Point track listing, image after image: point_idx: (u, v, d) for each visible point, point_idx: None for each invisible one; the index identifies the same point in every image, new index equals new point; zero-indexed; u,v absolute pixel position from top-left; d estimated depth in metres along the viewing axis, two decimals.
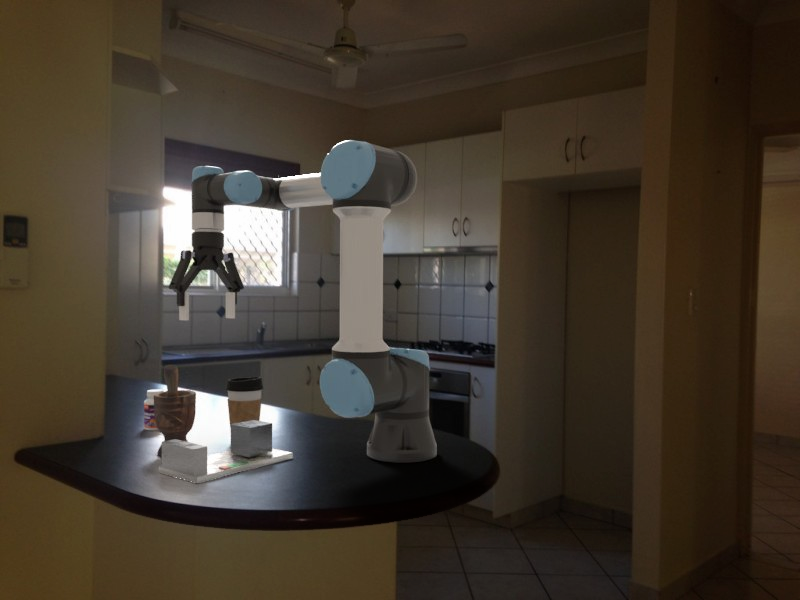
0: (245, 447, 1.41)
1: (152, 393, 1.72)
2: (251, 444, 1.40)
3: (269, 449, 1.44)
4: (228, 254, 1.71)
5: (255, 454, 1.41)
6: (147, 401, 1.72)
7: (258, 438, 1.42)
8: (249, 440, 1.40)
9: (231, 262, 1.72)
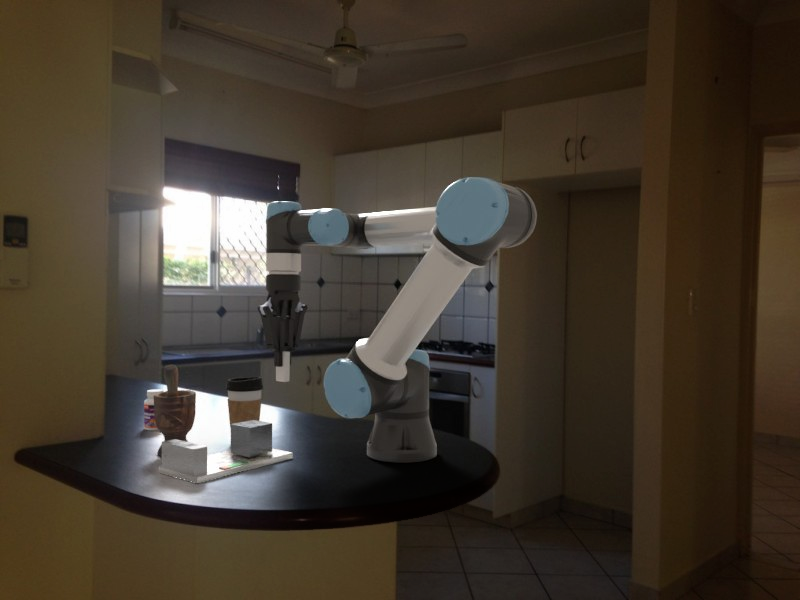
0: (245, 447, 1.41)
1: (152, 393, 1.72)
2: (251, 444, 1.40)
3: (269, 449, 1.44)
4: (303, 305, 1.55)
5: (255, 454, 1.41)
6: (147, 401, 1.72)
7: (258, 438, 1.42)
8: (249, 440, 1.40)
9: (301, 314, 1.54)
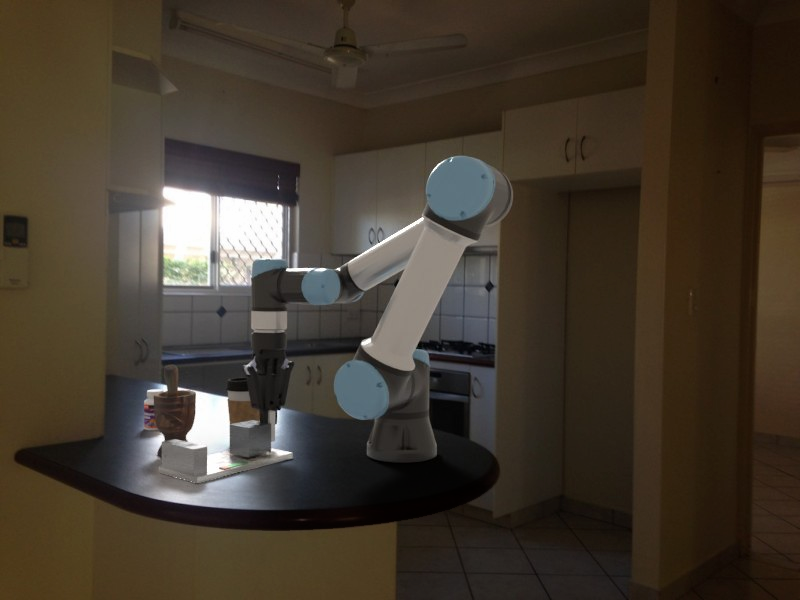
0: (244, 447, 1.41)
1: (152, 393, 1.72)
2: (250, 445, 1.40)
3: (268, 449, 1.44)
4: (289, 362, 1.52)
5: (254, 454, 1.41)
6: (147, 401, 1.72)
7: (257, 438, 1.42)
8: (248, 440, 1.40)
9: (288, 371, 1.51)
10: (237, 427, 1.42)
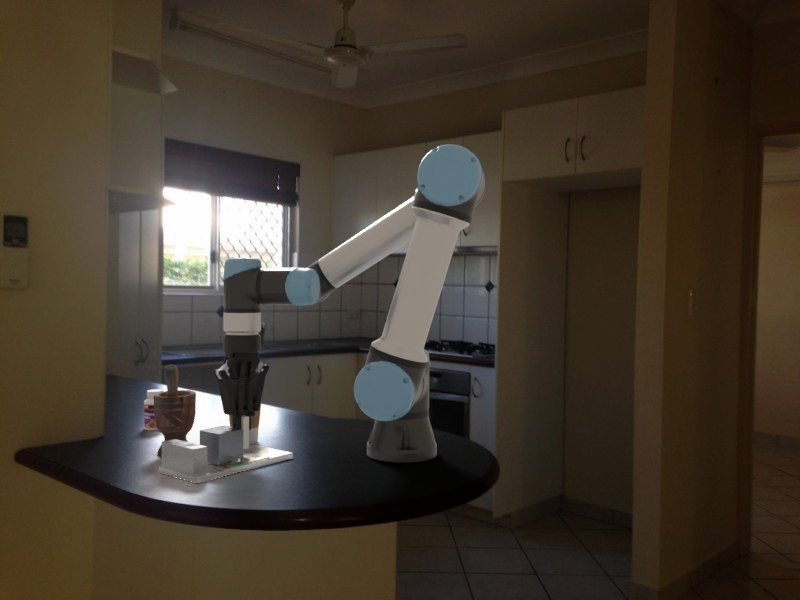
0: (214, 454, 1.35)
1: (152, 393, 1.72)
2: (220, 451, 1.34)
3: (240, 456, 1.38)
4: (264, 365, 1.46)
5: (225, 462, 1.35)
6: (147, 401, 1.72)
7: (228, 445, 1.36)
8: (218, 447, 1.34)
9: (262, 375, 1.45)
10: (207, 433, 1.36)
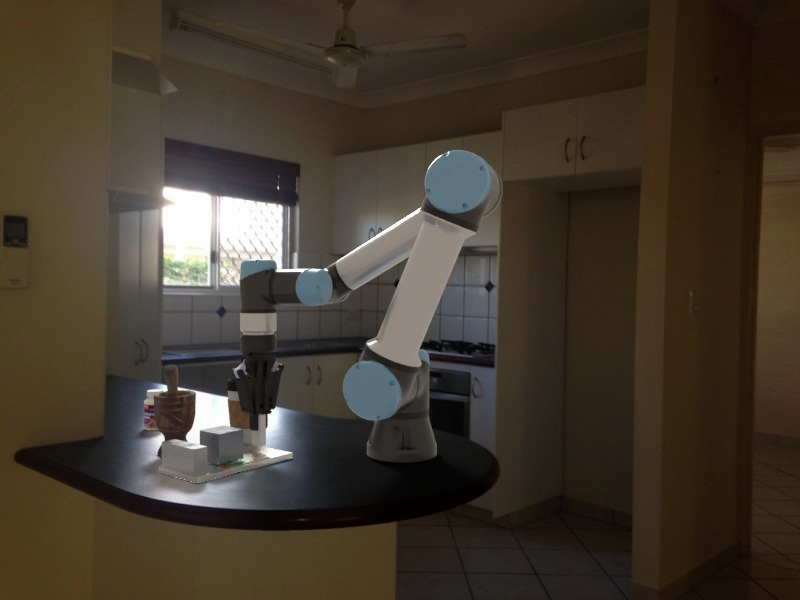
0: (214, 454, 1.35)
1: (152, 393, 1.72)
2: (220, 451, 1.34)
3: (240, 456, 1.38)
4: (279, 364, 1.49)
5: (225, 462, 1.35)
6: (147, 401, 1.72)
7: (228, 445, 1.36)
8: (218, 447, 1.34)
9: (278, 374, 1.48)
10: (207, 433, 1.36)
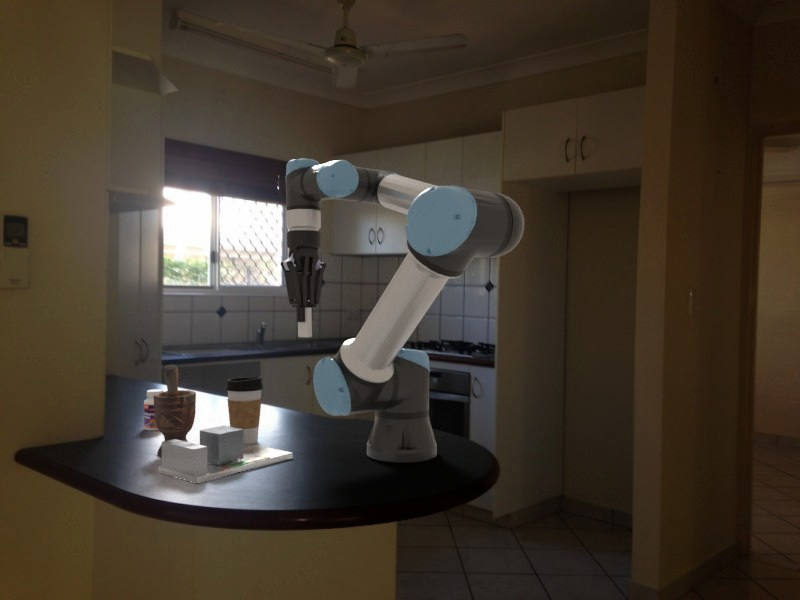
0: (214, 454, 1.35)
1: (152, 393, 1.72)
2: (220, 451, 1.34)
3: (240, 456, 1.38)
4: (321, 263, 1.57)
5: (225, 462, 1.35)
6: (147, 401, 1.72)
7: (228, 445, 1.36)
8: (218, 447, 1.34)
9: (321, 271, 1.56)
10: (207, 433, 1.36)
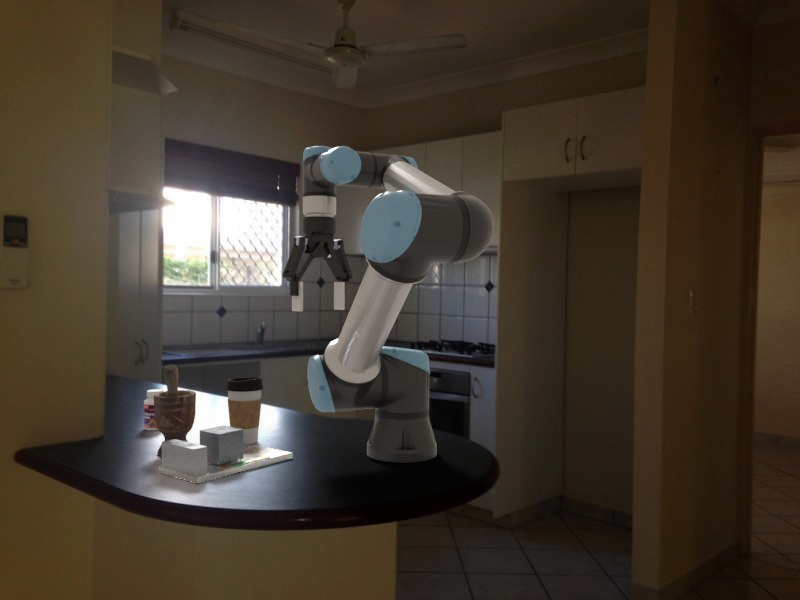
0: (214, 454, 1.35)
1: (152, 393, 1.72)
2: (220, 451, 1.34)
3: (240, 456, 1.38)
4: (338, 241, 1.60)
5: (225, 462, 1.35)
6: (147, 401, 1.72)
7: (228, 445, 1.36)
8: (218, 447, 1.34)
9: (341, 250, 1.61)
10: (207, 433, 1.36)
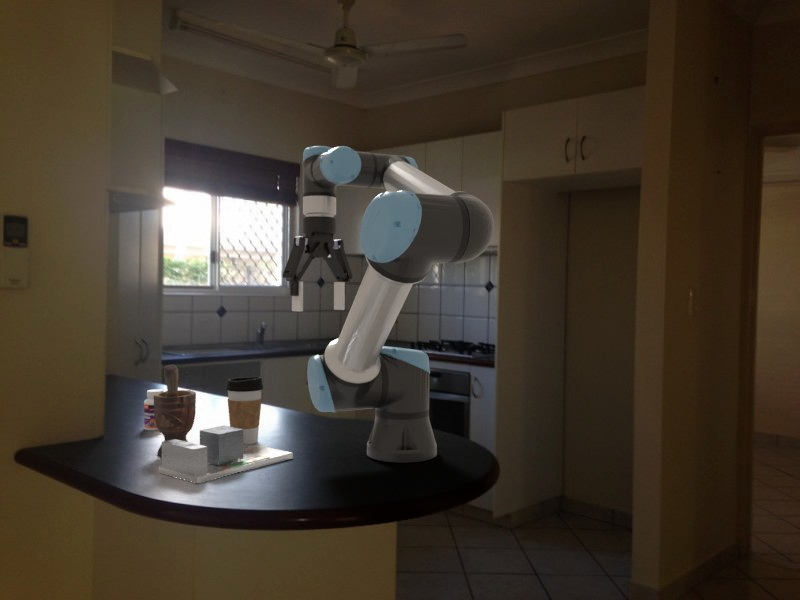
0: (214, 454, 1.35)
1: (152, 393, 1.72)
2: (220, 451, 1.34)
3: (240, 456, 1.38)
4: (338, 241, 1.60)
5: (225, 462, 1.35)
6: (147, 401, 1.72)
7: (228, 445, 1.36)
8: (218, 447, 1.34)
9: (341, 250, 1.61)
10: (207, 433, 1.36)
